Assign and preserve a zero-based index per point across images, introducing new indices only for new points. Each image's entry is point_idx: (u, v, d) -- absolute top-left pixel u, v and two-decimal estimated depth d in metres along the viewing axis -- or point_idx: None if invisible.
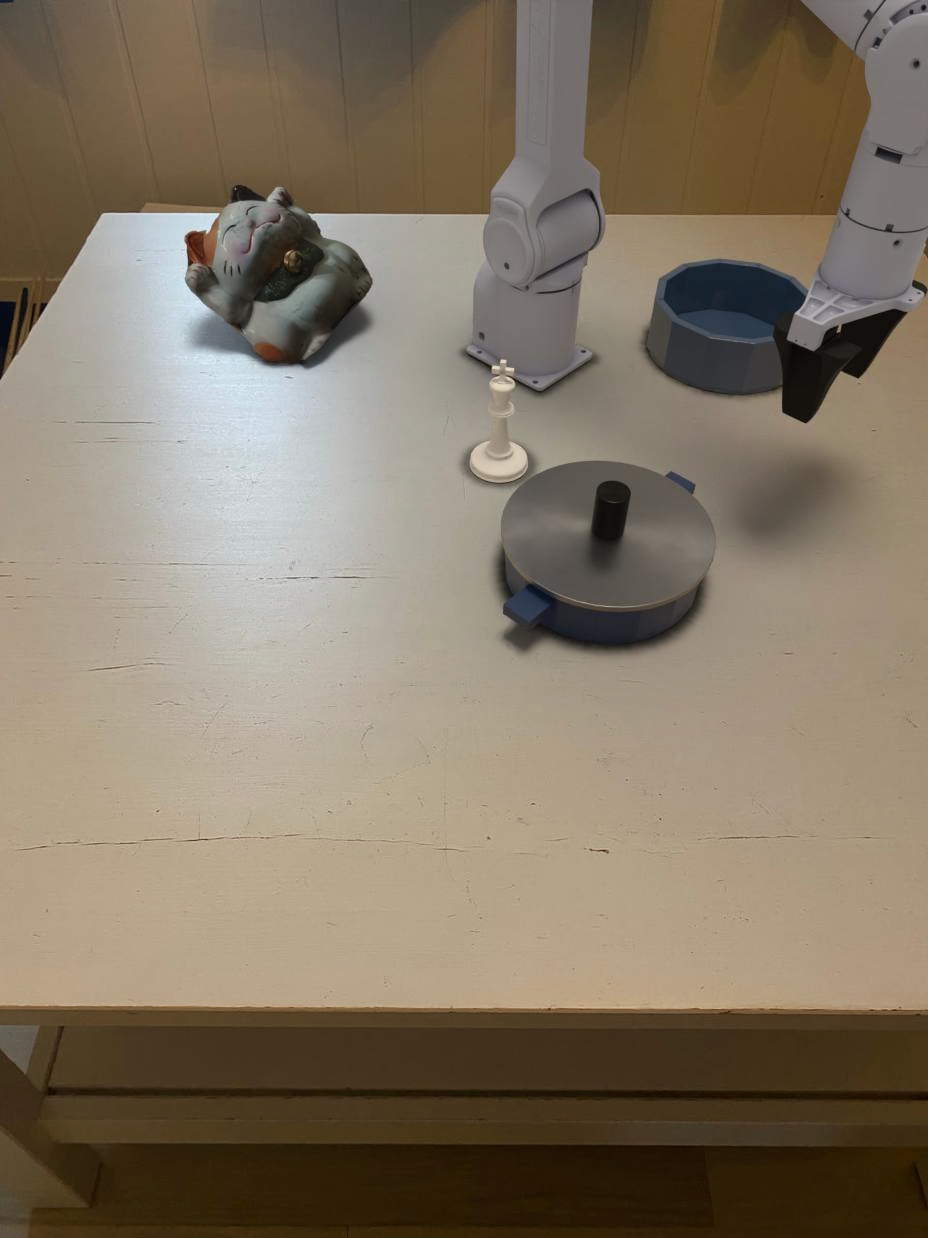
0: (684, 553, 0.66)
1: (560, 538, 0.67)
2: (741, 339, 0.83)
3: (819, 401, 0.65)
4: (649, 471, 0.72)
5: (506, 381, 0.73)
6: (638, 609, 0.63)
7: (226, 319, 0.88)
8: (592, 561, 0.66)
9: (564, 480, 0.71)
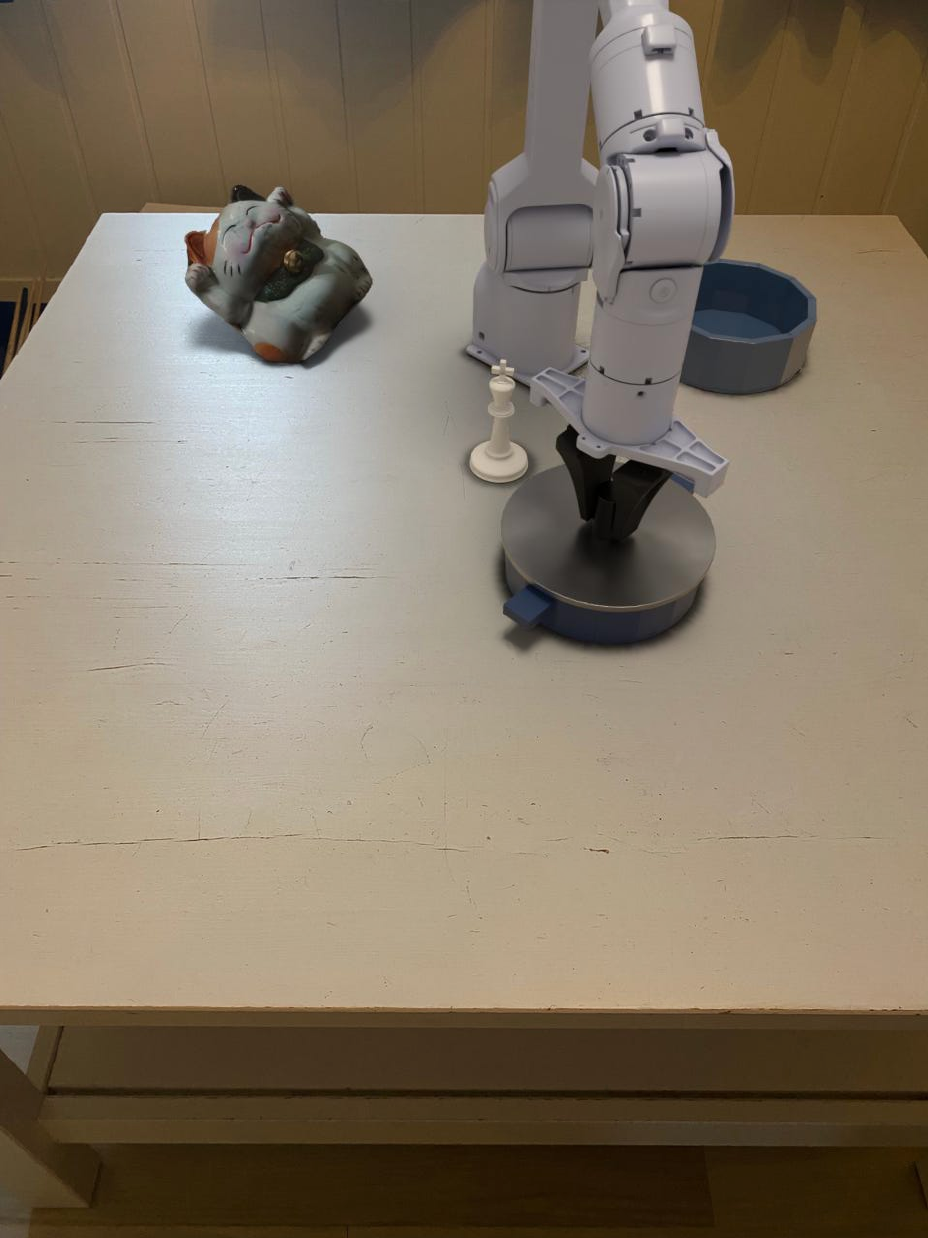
0: (684, 553, 0.66)
1: (560, 538, 0.67)
2: (741, 339, 0.83)
3: (576, 495, 0.66)
4: None
5: (506, 381, 0.73)
6: (638, 609, 0.63)
7: (226, 319, 0.88)
8: (592, 562, 0.66)
9: (564, 480, 0.71)
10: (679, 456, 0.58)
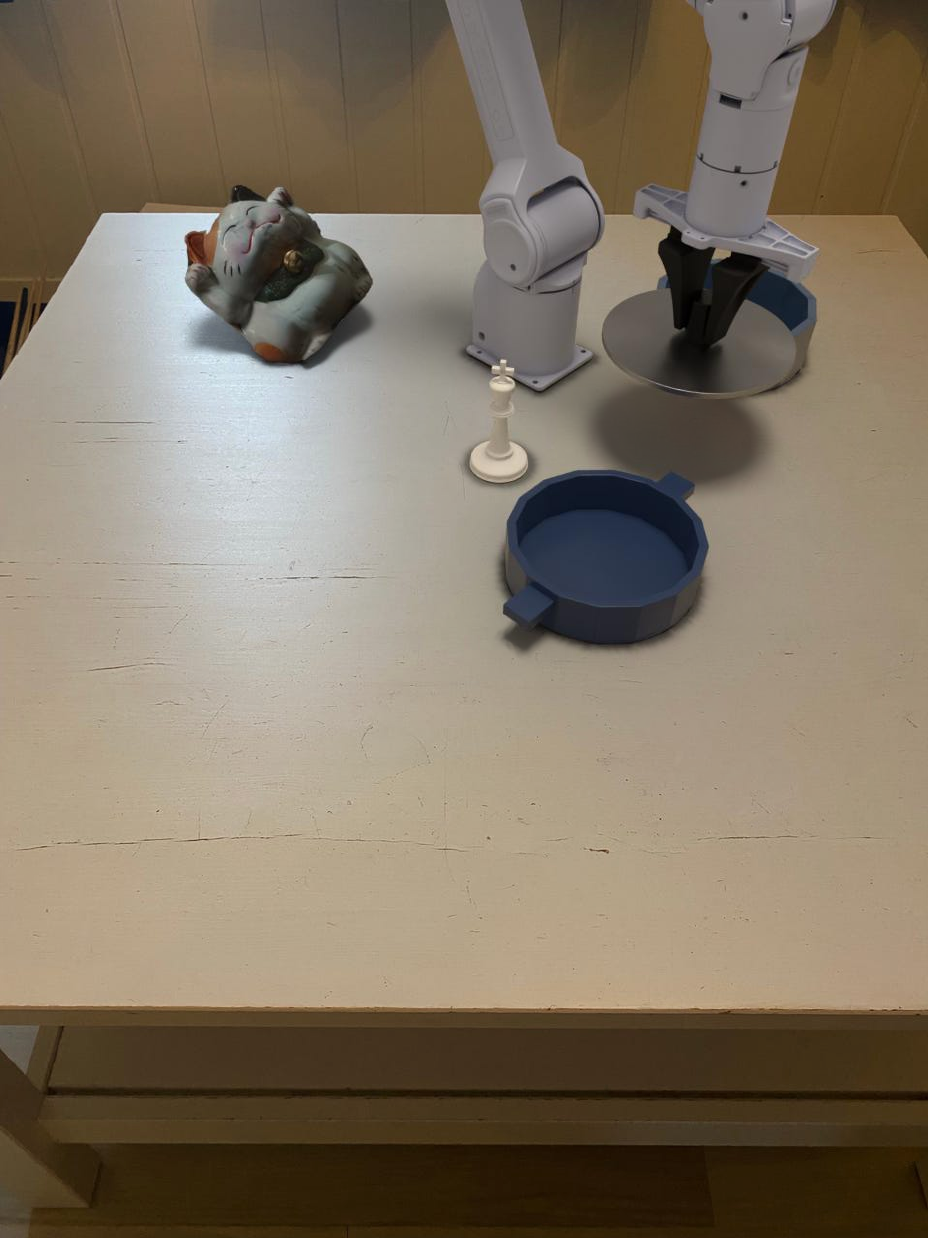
0: (769, 355, 0.74)
1: (656, 343, 0.75)
2: None
3: (672, 302, 0.74)
4: None
5: (506, 381, 0.73)
6: (731, 396, 0.71)
7: (226, 319, 0.88)
8: (687, 360, 0.73)
9: (656, 302, 0.79)
10: (774, 246, 0.66)
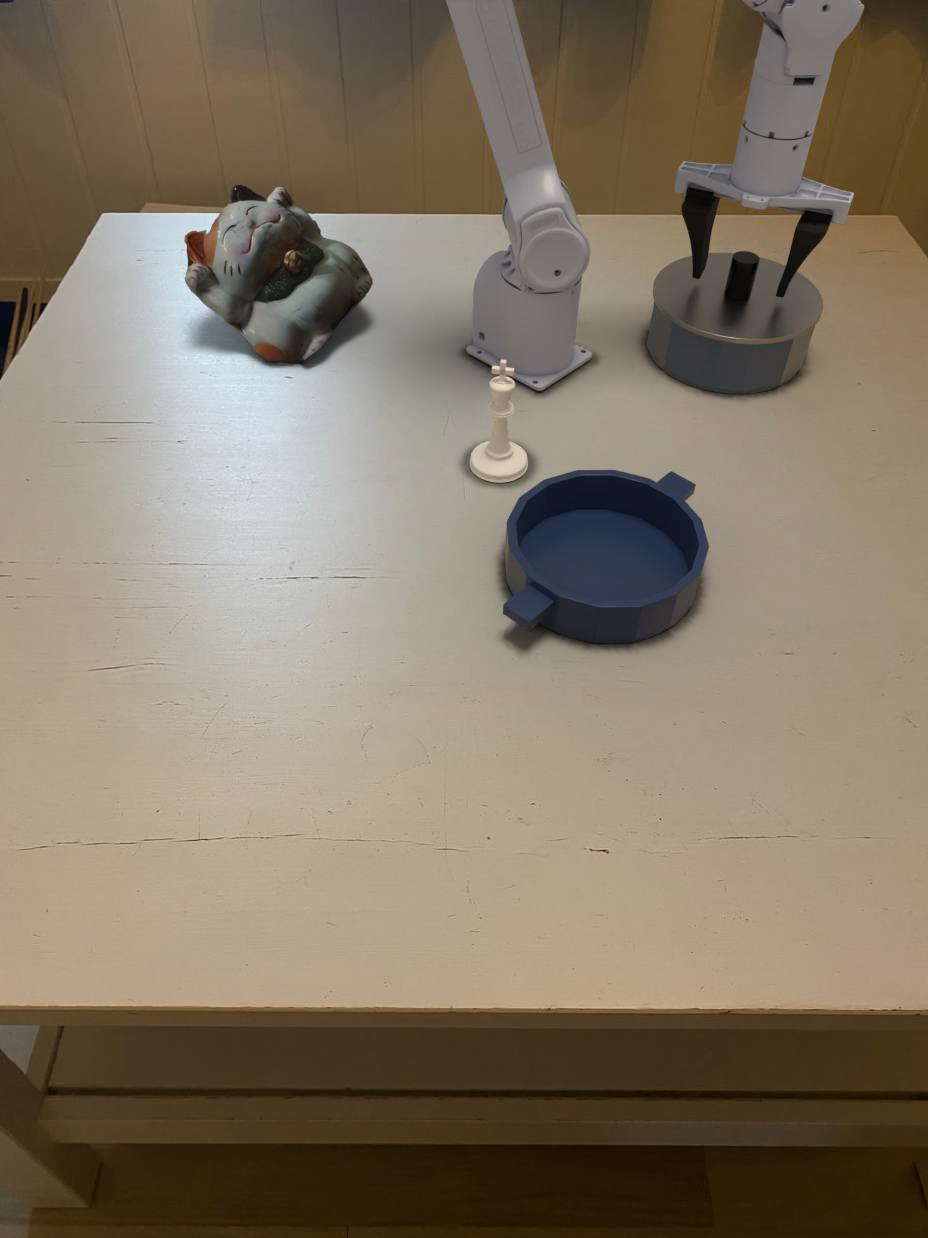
0: (801, 297, 0.86)
1: (709, 305, 0.85)
2: None
3: (693, 256, 0.85)
4: None
5: (506, 381, 0.73)
6: (794, 336, 0.83)
7: (226, 319, 0.88)
8: (743, 314, 0.84)
9: (684, 270, 0.90)
10: (819, 196, 0.78)
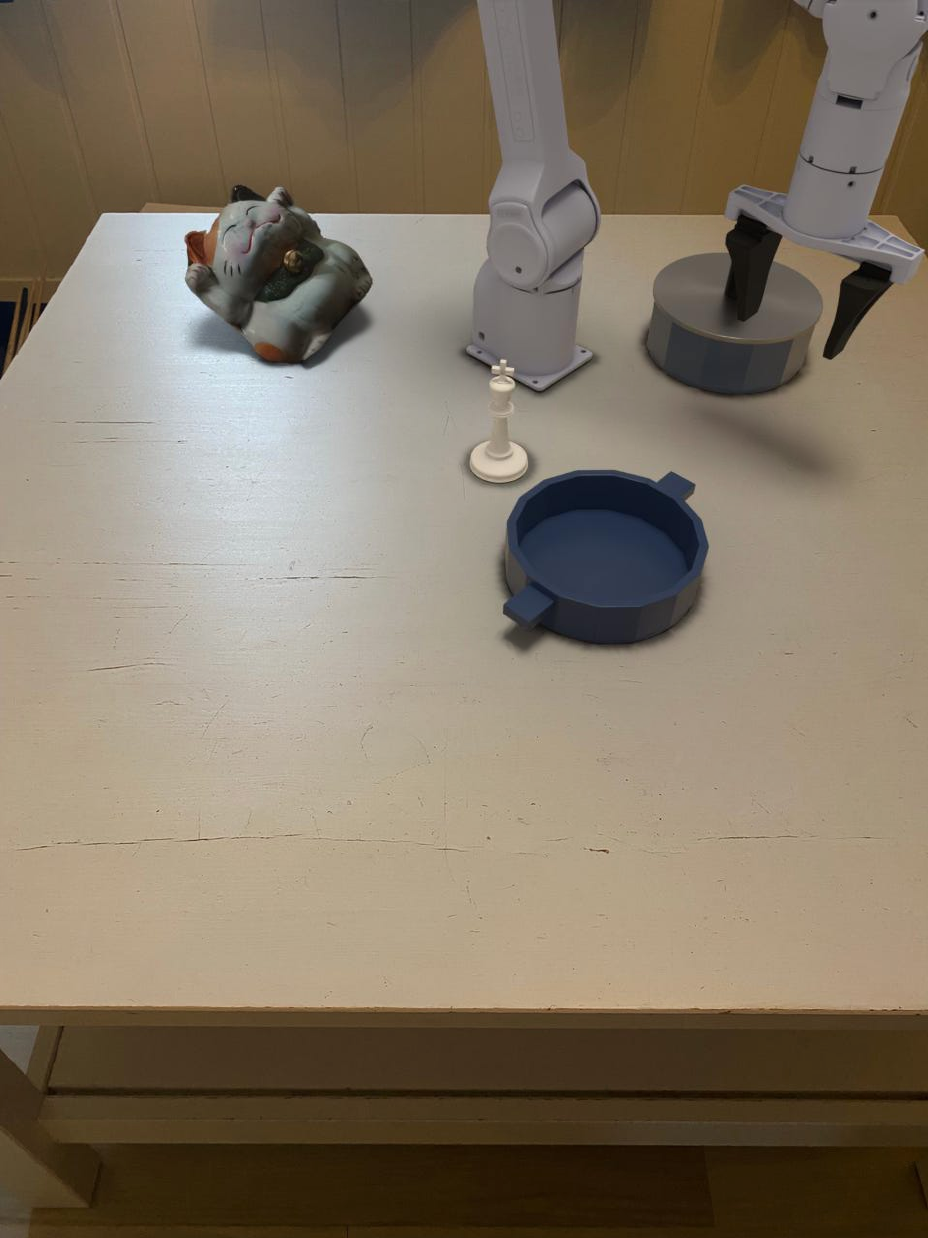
0: (801, 297, 0.86)
1: (709, 305, 0.85)
2: None
3: None
4: None
5: (506, 381, 0.73)
6: (794, 336, 0.83)
7: (226, 319, 0.88)
8: None
9: (684, 270, 0.90)
10: (770, 197, 0.70)
